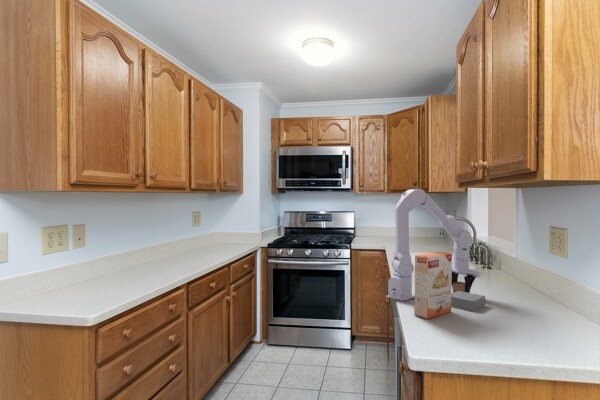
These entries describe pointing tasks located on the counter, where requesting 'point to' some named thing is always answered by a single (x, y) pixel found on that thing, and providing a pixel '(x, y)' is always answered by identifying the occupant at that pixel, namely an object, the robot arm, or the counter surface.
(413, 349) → the counter surface
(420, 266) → the cracker box
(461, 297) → the slate block
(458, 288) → the walnut block
